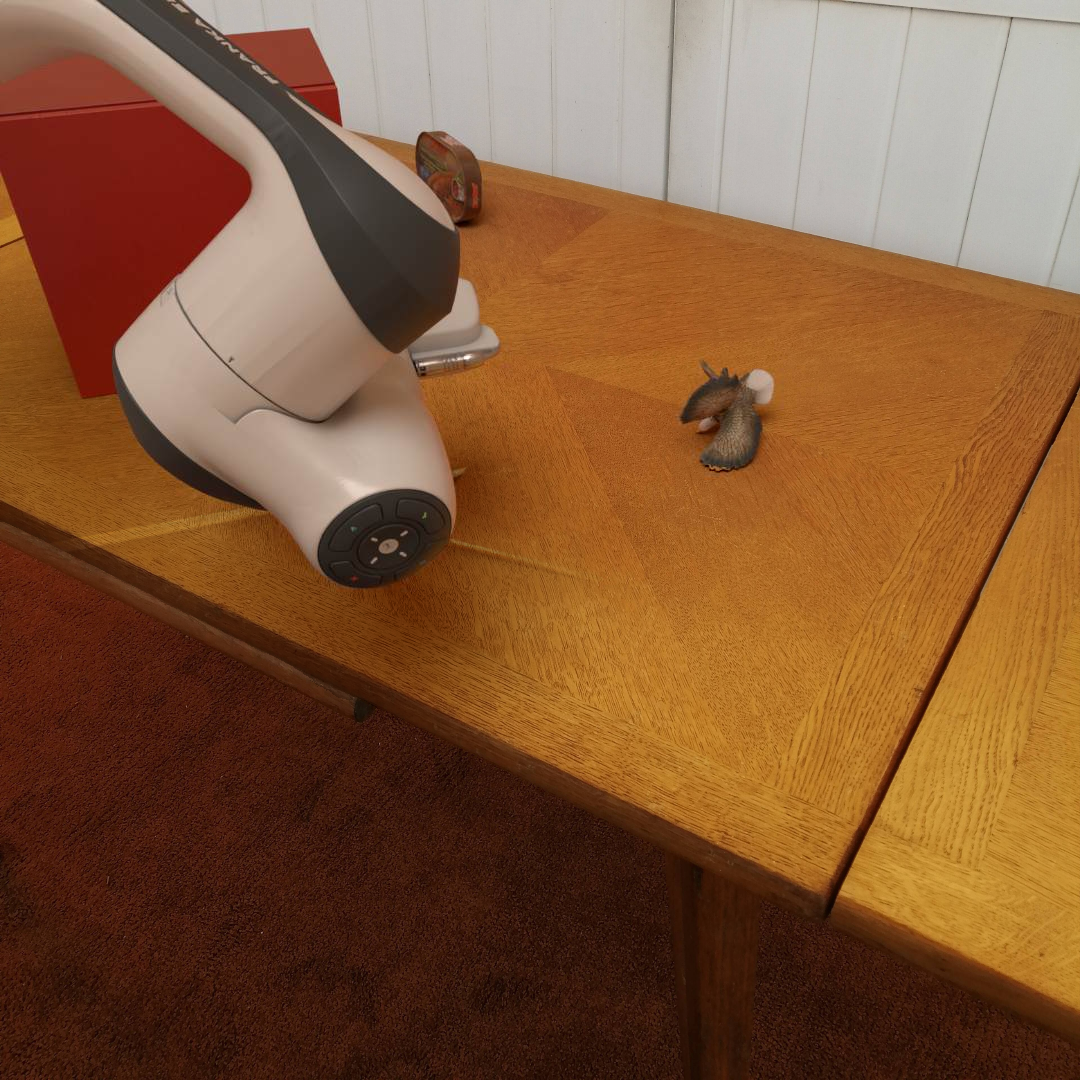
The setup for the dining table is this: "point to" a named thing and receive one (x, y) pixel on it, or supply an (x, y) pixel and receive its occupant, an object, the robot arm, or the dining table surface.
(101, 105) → the red cabinet
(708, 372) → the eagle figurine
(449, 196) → the tin
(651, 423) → the dining table surface
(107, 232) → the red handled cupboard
